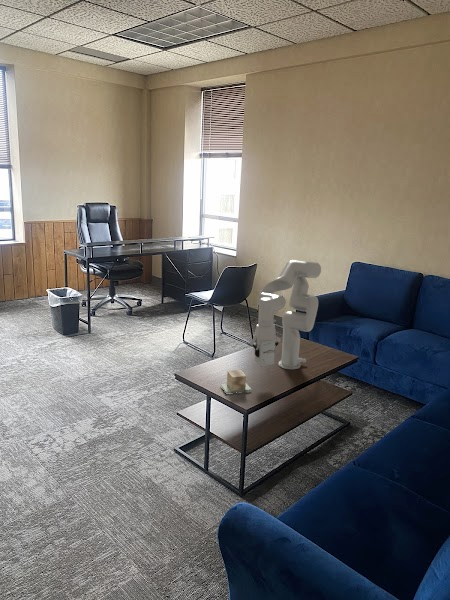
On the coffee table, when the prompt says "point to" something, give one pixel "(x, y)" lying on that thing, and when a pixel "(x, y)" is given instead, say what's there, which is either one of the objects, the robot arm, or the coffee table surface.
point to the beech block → (236, 380)
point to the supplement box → (266, 353)
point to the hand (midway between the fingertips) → (264, 355)
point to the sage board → (228, 390)
